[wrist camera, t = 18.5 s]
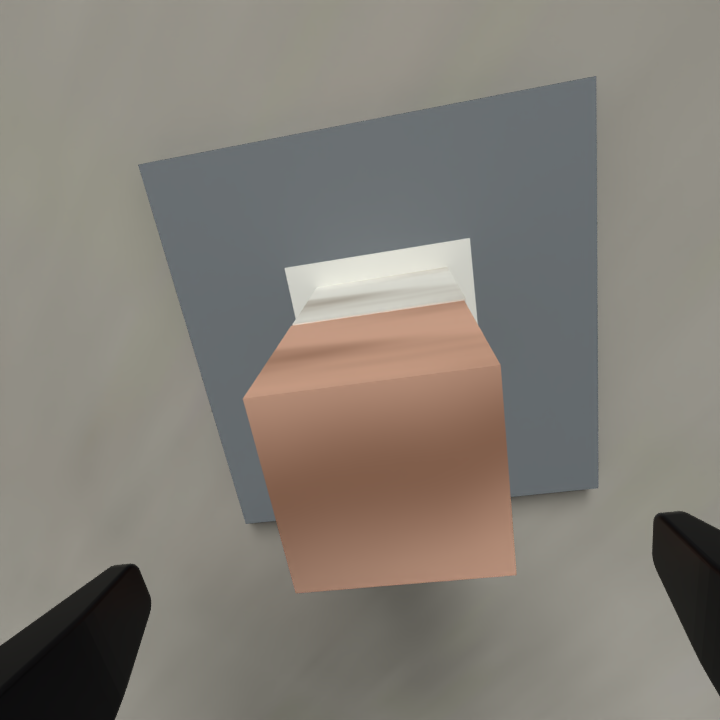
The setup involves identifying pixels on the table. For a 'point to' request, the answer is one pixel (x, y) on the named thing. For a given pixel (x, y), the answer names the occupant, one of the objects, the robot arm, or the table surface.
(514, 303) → the blue-grey square plate
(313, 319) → the off-white block
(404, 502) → the terracotta block
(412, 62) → the table surface
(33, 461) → the table surface
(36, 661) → the robot arm
